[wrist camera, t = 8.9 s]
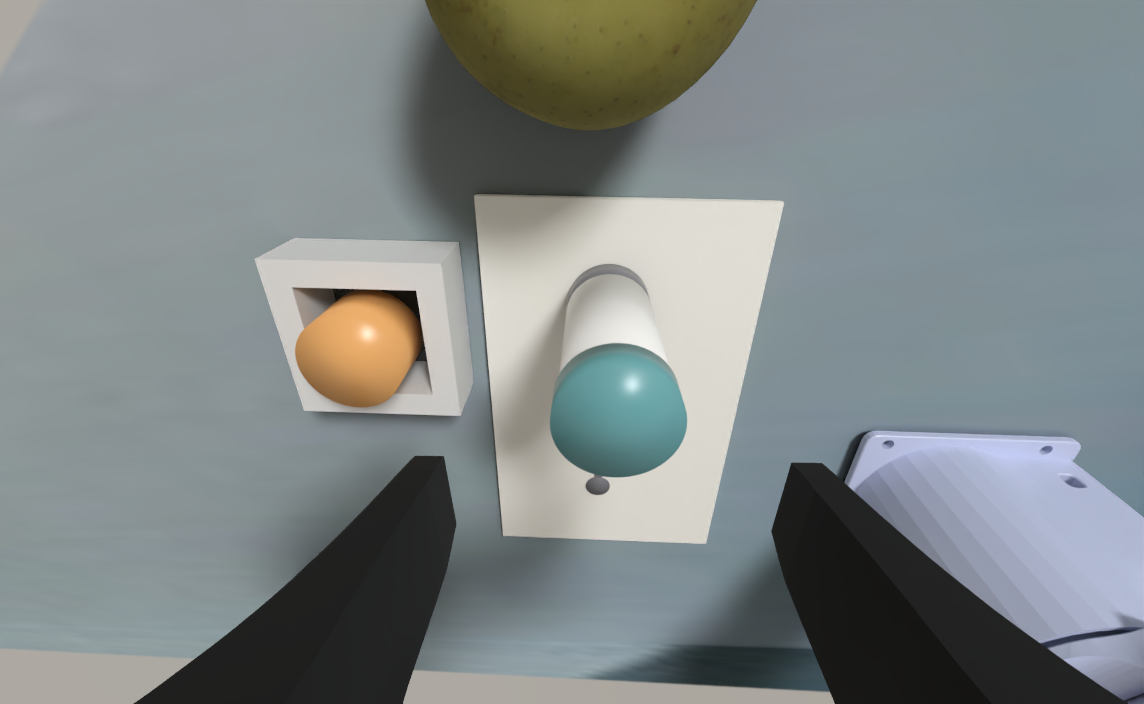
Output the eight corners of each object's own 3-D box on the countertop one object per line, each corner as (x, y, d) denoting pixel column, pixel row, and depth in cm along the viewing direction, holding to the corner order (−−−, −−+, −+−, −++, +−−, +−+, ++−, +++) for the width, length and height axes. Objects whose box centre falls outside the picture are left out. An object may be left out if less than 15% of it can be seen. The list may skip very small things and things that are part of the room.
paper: (781, 200, 17) (784, 202, 17) (704, 539, 26) (705, 544, 26) (475, 193, 17) (473, 195, 17) (504, 531, 26) (502, 536, 26)
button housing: (459, 242, 18) (441, 263, 16) (473, 382, 21) (460, 416, 19) (294, 237, 18) (254, 258, 16) (333, 377, 22) (304, 410, 19)
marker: (655, 262, 18) (696, 368, 11) (647, 342, 20) (678, 479, 13) (565, 260, 18) (549, 364, 11) (564, 339, 20) (550, 475, 13)
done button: (415, 290, 18) (390, 319, 15) (428, 372, 19) (408, 409, 17) (319, 287, 18) (281, 316, 16) (341, 369, 19) (310, 406, 17)
